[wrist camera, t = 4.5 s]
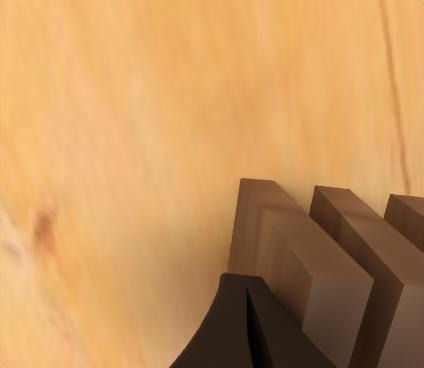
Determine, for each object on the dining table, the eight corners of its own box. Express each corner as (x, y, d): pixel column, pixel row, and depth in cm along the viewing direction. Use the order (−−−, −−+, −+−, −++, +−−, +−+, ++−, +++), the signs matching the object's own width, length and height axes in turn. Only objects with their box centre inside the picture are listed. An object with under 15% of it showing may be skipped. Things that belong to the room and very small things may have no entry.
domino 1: (227, 271, 17) (278, 429, 9) (240, 178, 15) (313, 278, 8) (257, 272, 17) (329, 426, 10) (273, 180, 16) (373, 279, 8)
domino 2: (295, 276, 17) (355, 432, 10) (315, 185, 16) (404, 285, 8) (326, 279, 17) (410, 438, 10) (348, 189, 16) (469, 292, 8)
